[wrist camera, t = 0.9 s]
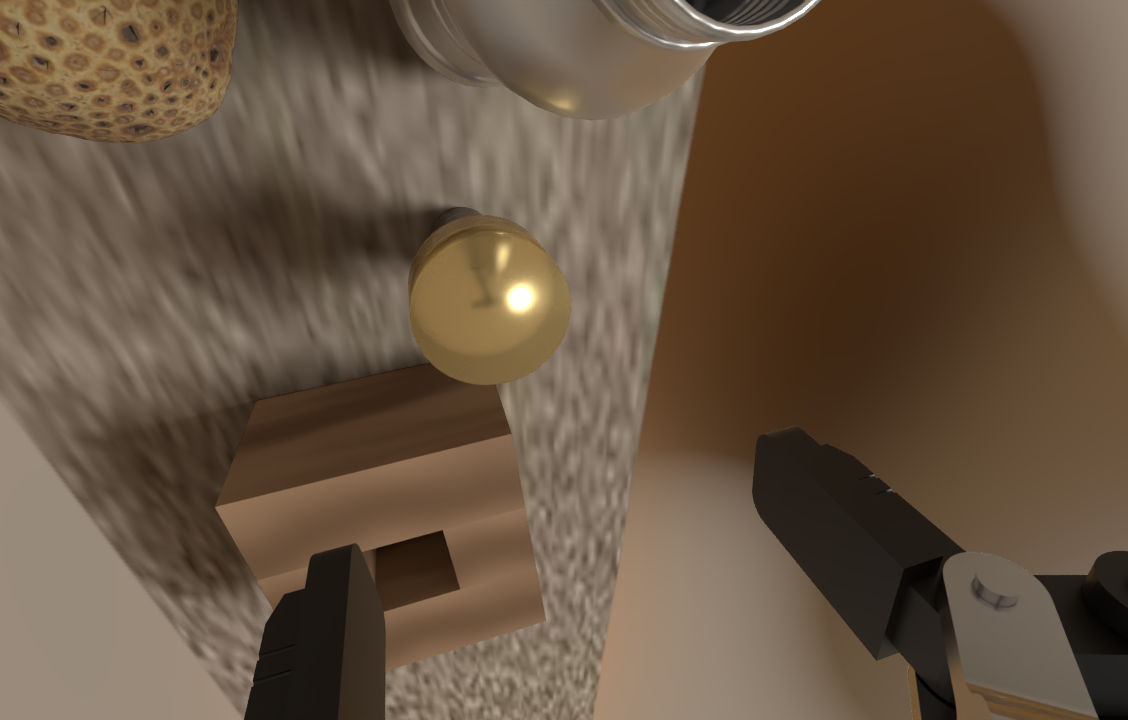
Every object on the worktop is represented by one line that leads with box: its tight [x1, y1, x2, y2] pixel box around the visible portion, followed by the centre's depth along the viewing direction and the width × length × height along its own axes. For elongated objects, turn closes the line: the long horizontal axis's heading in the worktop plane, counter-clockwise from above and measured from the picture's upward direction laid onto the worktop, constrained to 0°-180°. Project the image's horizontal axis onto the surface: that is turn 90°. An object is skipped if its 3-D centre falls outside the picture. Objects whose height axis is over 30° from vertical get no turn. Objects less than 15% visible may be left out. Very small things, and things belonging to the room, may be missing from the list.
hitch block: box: [215, 363, 546, 671], centre depth 30 cm, size 13×12×8 cm
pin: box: [408, 207, 571, 385], centre depth 23 cm, size 6×6×10 cm
